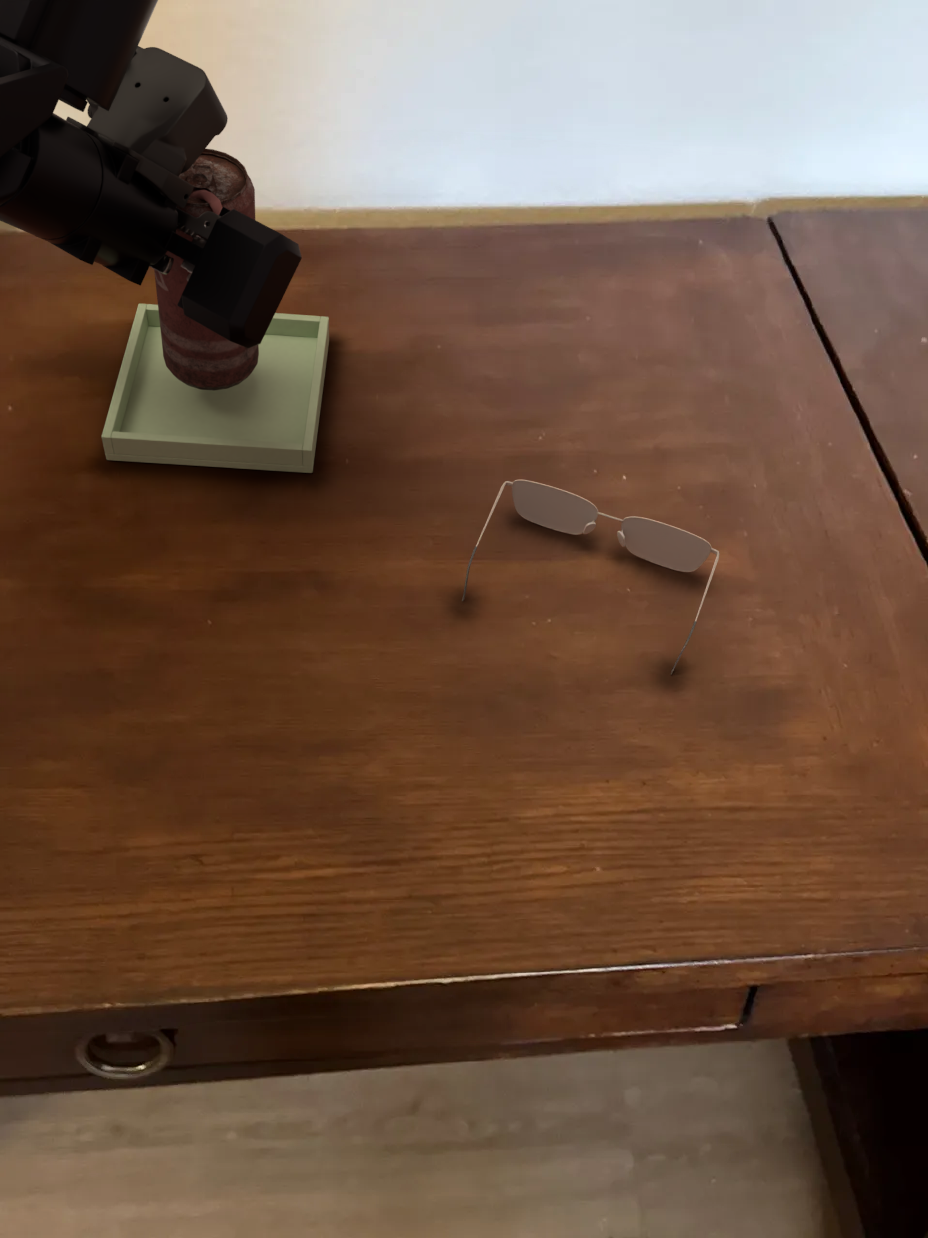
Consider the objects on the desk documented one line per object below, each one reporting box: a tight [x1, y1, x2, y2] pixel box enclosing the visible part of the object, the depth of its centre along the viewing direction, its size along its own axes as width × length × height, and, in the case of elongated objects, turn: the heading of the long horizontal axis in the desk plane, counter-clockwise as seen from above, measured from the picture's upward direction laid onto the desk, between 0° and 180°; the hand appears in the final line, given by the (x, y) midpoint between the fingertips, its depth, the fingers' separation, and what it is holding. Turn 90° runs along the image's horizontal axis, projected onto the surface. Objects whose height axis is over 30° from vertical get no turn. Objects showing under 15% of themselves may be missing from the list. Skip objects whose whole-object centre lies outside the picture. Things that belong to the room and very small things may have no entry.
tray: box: [100, 303, 330, 474], centre depth 81 cm, size 13×13×2 cm
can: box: [153, 148, 259, 391], centre depth 74 cm, size 6×6×14 cm
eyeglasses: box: [461, 479, 720, 675], centre depth 73 cm, size 14×8×4 cm, turn 69°
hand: (223, 266), depth 75 cm, fingers closed on can, 5 cm apart
